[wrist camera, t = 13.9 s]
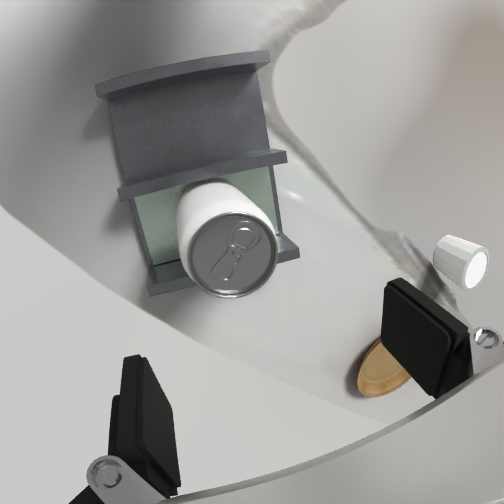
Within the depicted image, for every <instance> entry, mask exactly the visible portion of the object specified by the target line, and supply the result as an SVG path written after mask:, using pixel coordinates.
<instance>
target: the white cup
mask: <svg viewBox="0 0 504 504" xmlns="http://www.w3.org/2000/svg"><path fill="white" fill-rule="evenodd" d="M433 263H434V266H435V267H436V268H437V269H438V270H439V271H441V272H442V273H443V274H444V275H446V276H447V277H448V278H449V279H450V280H452V281H453V282H454V283H455V284H457V285H458V286H459V287H460V288H461V289H463V290H464V291H466V292H470V291H472V290H475V288H477V286H479V284H480V283H481V282H482V280H483V278H484V277H485V274H486V272H487V269H488V265H489V252H488V250H487V248H485V247H483V246H480V245H477V244H474V243H471V242H469V241H466V240H463V239H460V238H457V237H454V236H451V235H447V236H444V237H443V238H442V239H441V240H440V241H439V242H438V244H437V245H436V247H435V250H434V254H433Z"/></svg>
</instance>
